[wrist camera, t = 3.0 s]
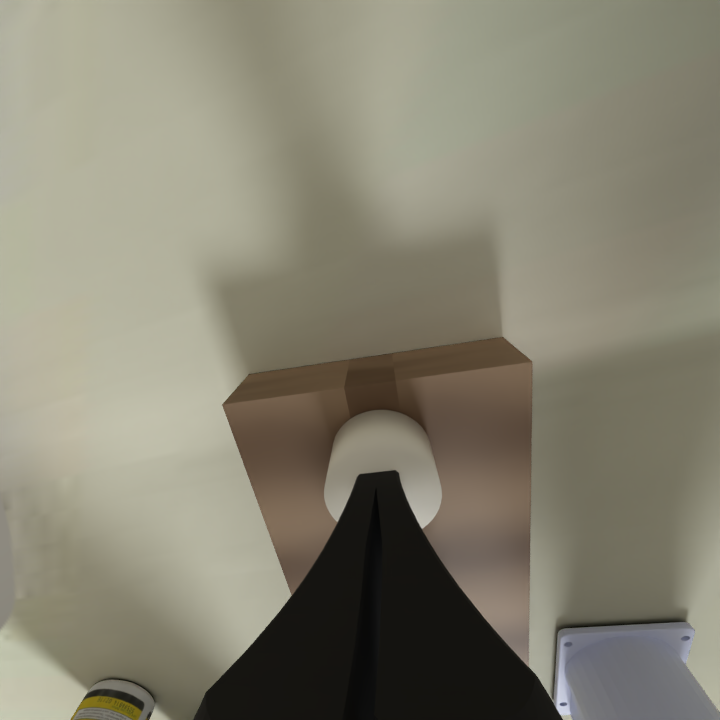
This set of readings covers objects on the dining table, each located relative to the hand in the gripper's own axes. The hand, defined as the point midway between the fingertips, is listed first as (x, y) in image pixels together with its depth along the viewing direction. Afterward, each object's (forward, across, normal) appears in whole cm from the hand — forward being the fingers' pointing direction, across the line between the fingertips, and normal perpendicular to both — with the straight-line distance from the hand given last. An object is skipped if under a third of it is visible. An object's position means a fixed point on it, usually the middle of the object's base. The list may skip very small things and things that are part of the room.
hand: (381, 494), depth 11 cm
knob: (+4, 0, 0) cm, 4 cm away
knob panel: (+6, 0, +7) cm, 9 cm away
